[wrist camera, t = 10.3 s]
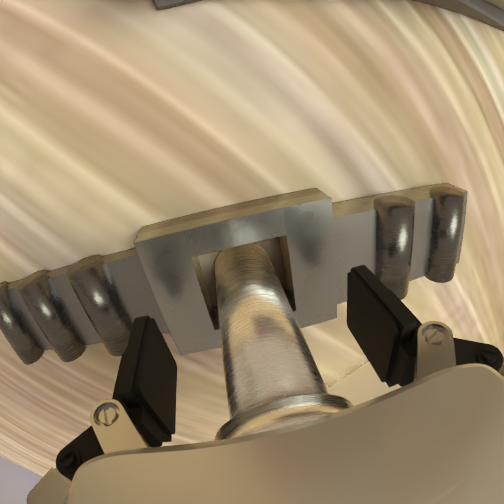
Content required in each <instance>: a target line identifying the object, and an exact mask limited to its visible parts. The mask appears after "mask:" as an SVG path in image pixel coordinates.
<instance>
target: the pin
mask: <svg viewBox="0 0 504 504" xmlns="http://www.w3.org/2000/svg"><path fill="white" fill-rule="evenodd" d="M215 281H216V293H217V304H218V315H219V326H220V336H221V346H222V355H223V365H224V374H225V382H226V391H227V399H228V407H229V415H230V420H229V421H228V422H227V423H225V424H224V425H223V426H222V427H221V428H220V429H219V431H218V432H217V434H216V436H215V441H216V440H223V439H229V438H235V437H240V436H246V435H251V434H256V433H261V432H265V431H270V430H274V429H278V428H283V427H287V426H290V425H294V424H298V423H302V422H305V421H309V420H312V419H316V418H319V417H322V416H325V415H329V414H332V413H335V412H338V411H341V410H344V409H347V408H350V407H352V406H353V404H352V403H351V402H350V401H349V400H348V399H346V398H344V397H341V396H337V395H331V394H328V391H327V389H326V387H325V384H324V382H323V380H322V377H321V375H320V373H319V370H318V368H317V366H316V363H315V361H314V359H313V356H312V354H311V352H310V350H309V347H308V345H307V343H306V340H305V338H304V336H303V334H302V331H301V329H300V327H299V324H298V322H297V320H296V318H295V315H294V313H293V311H292V309H291V306H290V304H289V302H288V299H287V297H286V295H285V293H284V290H283V288H282V286H281V284H280V281H279V279H278V277H277V275H276V272H275V270H274V268H273V266H272V264H271V261H270V259H269V257H268V255H267V253H266V251H265V250H264V249H263V248H262V247H260V246H259V245H257V244H255V243H249V244H244V245H240V246H236V247H231V248H227V249H223V250H222V251H221V252H220V253H219V255H218V256H217V258H216V261H215Z"/></svg>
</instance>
